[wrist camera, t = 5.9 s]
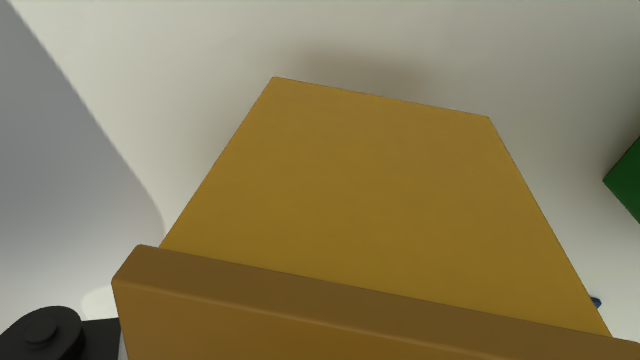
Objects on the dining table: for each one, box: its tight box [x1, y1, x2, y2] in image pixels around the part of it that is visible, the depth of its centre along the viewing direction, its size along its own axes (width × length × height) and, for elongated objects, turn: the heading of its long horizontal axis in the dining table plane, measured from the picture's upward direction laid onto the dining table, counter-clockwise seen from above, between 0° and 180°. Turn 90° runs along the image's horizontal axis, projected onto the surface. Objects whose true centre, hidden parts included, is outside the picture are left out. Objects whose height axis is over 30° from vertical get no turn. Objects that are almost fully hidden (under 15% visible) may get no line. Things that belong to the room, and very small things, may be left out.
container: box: [111, 77, 640, 360], centre depth 10 cm, size 6×9×7 cm, turn 172°
